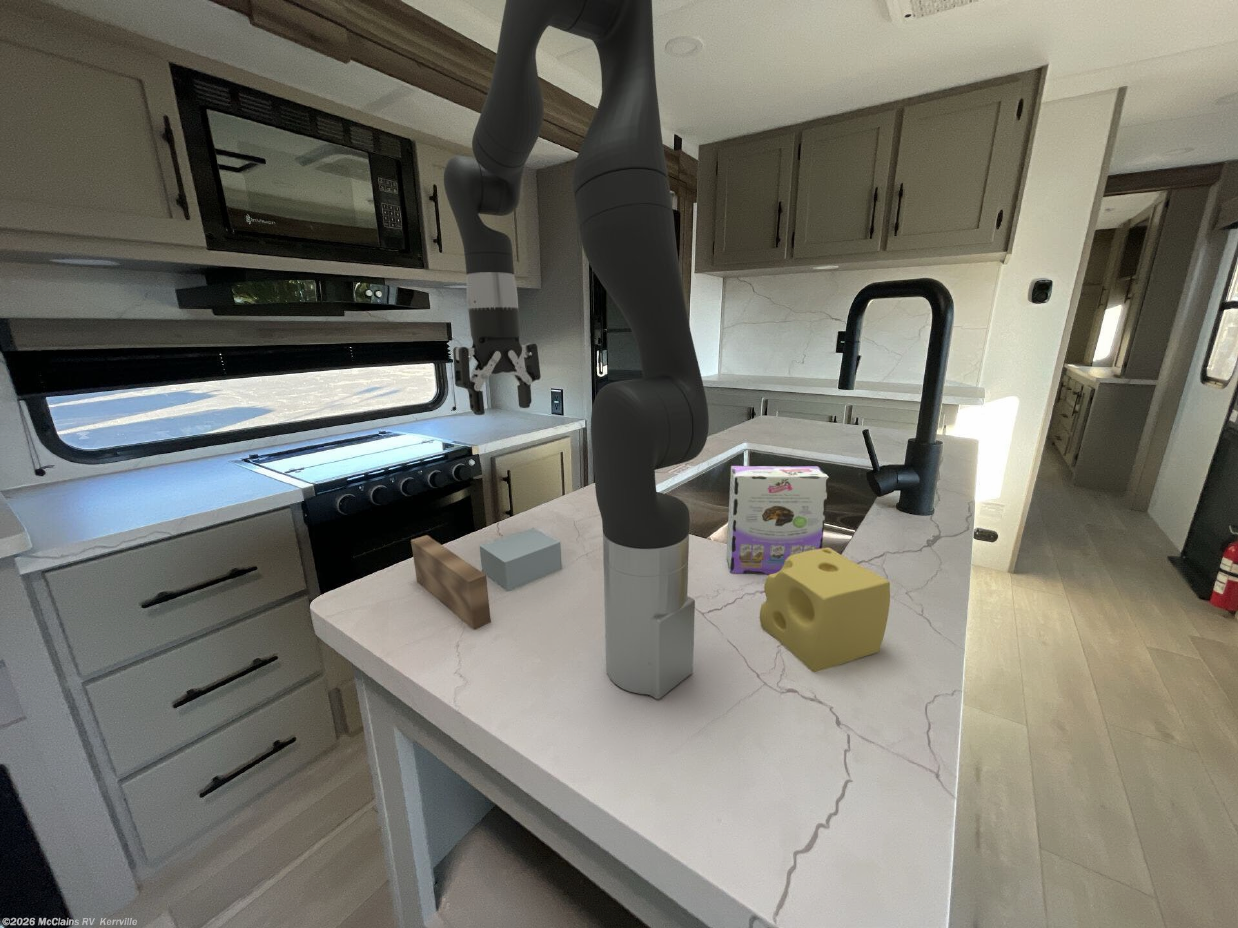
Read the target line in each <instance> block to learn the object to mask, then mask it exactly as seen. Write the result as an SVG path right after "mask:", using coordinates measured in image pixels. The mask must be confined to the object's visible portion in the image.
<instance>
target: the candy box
mask: <svg viewBox="0 0 1238 928" xmlns="http://www.w3.org/2000/svg"><path fill="white" fill-rule="evenodd" d="M829 480H830V476H828V474H826V473H825V472H824V471H823V470H822V469H821V468H820V467H819V466H816V465H815V466H811V465H810V466H808V465H807V466H796V465H795V466H792V465H791V466H785V465H784V466H776V465H773V466H772V465H771V466H769V465H767V466H766V465H763V466H762V465H760V466H759V465H757V466H755V465H753V466H752V465H731V466H730V480H729V481H730V482H729V484H730V485H729V501H728V502H729V503H728V504H729V505H728V521H727V537H726V538H727V539H726V540H727V543H726V561H727V565H728V570H729V573H731V574H742V575H743V574H748V575H749V574H751V575H770V574H774V573H777V572H779V571H780V570H781V569H782V568H783V566H784V563H785V561H786V559H787V558H788V557H789V556H791V555H794V554H798V553H802V552H805V551H810V550H817V549H822V548H823V541H824V540H823V539H824V529H825V520H826V508H827V497H828V490H829V489H828V487H829V482H830V481H829Z"/></svg>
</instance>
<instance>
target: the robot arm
mask: <svg viewBox="0 0 1238 928" xmlns="http://www.w3.org/2000/svg"><path fill="white" fill-rule="evenodd" d="M653 18H654V17H653V0H505V4H504V9H503V15H502V21H501V26H500V33H499V38H498V44H497V49H496V50H497V51H496V57H495V63H494V69H493V72H492V76H491V81H490V85H489V89H488V93H487V95H486V99H485V101H484V103H483V106H482V109H481V112H480V115H479V118H478V121H477V123H476V126H475V128H474V132H473V135H472V139H471V140H472V141H471V148H472V153H473V156H474V157H470V156H464V155H455V156H453V157H452V158H450V159H449V160H448V162H447V163H446V166H445V167H444V172H443V186H444V192H445V194H446V197H447V201H448V203H449V205H450V209H451V211H452V214H453V216H454V220H455V222H456V224H457V225H456V226H457V229H458V231H459V235H460V238H461V241H462V247H463V253H464V261H465V271H466V298H467V299H466V302H467V303H466V304H467V309H468V310H467V311H468V319H469V329H470V336H471V339H472V346H471V347H466V346H454V347H453V350H452V353H453V354H452V356H453V370H454V371H453V372H454V373H453V374H454V385H455V387H457V388H461V389H465V390H467V392H468V399H469V400H468V401H469V409H470V411H471V412H473V414H474V415H477V416H482V415H483V416H484V415H485V413H486V412H485V403H484V391H483V390H482V387H483V386H484V384H485V382H486V381H487V380H488V379H489V378H490V376H491V375H492V374H493V375H497V374H498V375H499V374H501V373H505V374H506V373H507V374H510V375H511V376H512V377H513V378H514V379H515V380H516V382H517V383H518V385H517V397H518V406H519V408H520V409H528V408H530V407H531V404H532V390H531V387H532V386H531V385H532V383H534V382H535V381H539V380H541V367H540V360H539V353H538V350H539V349H538V345H537V344H536V343H531V342H530V343H529V342H528V343H523V344H521V341H520V335H521V326H520V325H521V324H520V313H519V311H520V310H519V298H518V288H517V283H516V279H515V269H514V257H513V256H514V254H513V244H512V241H511V240H512V239H511V238H510V236H509V235H508V234H506V233H504V232H502V231H499V230H496V229H493V228H491V227H488V226H487V225H486V224H485V223H484V222H483V220H482V218H481V217H480V215H488V216H494V217H495V216H496V217H497V216H498V217H506V216H508V215H510V214H512V213H513V212H514V211H515V210H516V209H517V208H518V206H519V203H520V199H521V186H522V178H523V173H524V168H525V164H526V162H527V160H528V159H529V156H530V155H531V153H532V151H533V149H534V147H535V145H536V143H537V142H538V139H539V137H540V134H541V132H542V131H541V130H542V127H543V124H544V115H545V113H544V99H543V94H542V89H541V88H542V87H541V82H540V78H539V74H538V73H539V72H538V67H537V58H536V57H537V56H536V55H537V48H538V45H539V43H540V40H541V38H542V36H543V34H544V33H545V31H546V30H547V29H548V27H552V28H554V29H557V30H560V31H562V32H565V33H568V34H571V35H575V36H578V37H581V38H584V39H588V40H591V41H592V42H593V43H594V46H595V48H596V49H597V53H598V57H599V64H600V65H599V66H600V72H601V76H600V77H601V96H600V99H599V103H598V107H597V108H596V111H595V114H594V116H593V118H592V121H591V123H590V125H589V126H588V129H587V132H586V134H585V136H584V138H583V141H582V142H581V146H580V148H579V151H578V153H577V155H576V160H575V164H574V167H573V172H572V173H573V174H572V189H573V190H572V191H573V197H574V204H575V210H576V215H577V217H576V218H577V222H578V223H577V224H578V229H579V235H580V236H579V237H580V242H581V246H582V248H583V249H582V250H583V252H584V254H585V257H586V259H587V262H588V264H589V266H590V267H591V268H592V270H593V272H594V274H595V275H596V277H597V278H598V279H597V280H599V281H600V283H601V285H602V286H603V288H604V289H605V291H606V292H607V294H608V295H609V296H610V298H611V299H612V300H613V302H614V304H615V305H616V306H617V308H618V309H619V311H620V312H621V314H622V315H623V317H624V319H625V321H626V322H627V324H628V327H629V329H630V330H631V332H632V335H633V337H634V340H635V344H636V347H637V352H638V356H639V361H640V366H641V367H640V368H641V371H642V372H641V373H642V378H636V379H634V378H633V379H627V380H626V379H625V380H619V381H614V382H610V383H608V384H606V385H604V386H603V387H602V388H601V389H599V391H598V392H597V394H596V396H595V397H594V400H593V405H592V409H591V414H590V440H591V449H592V450H591V451H592V461H593V474H594V485H595V486H594V489H595V496H596V502H597V503H596V504H597V507H598V510H599V513H600V517H601V523H602V551H603V553H602V555H603V557H602V558H603V561H602V562H603V595H604V596H603V598H604V599H603V600H604V633H605V634H604V639H605V667H606V673H607V675H608V677H609V679H610V680H611V681H612V682H613V683H614V684H615V685H616V686H617V687H619V688H621V689H623V690H625V691H627V692H629V693H630V692H631V693H634V694H641V695H649V696H651V697H653V698H654V699H656V700H660V699H661V698H662V697H664V696H665V695H666V694H667V693H668V692H670V691H671V690H672V689H674V688H675V687H676V686H678V685H679V684H680V683H681V682H682V681H684V680H685V679H686V678H688V677H690V676H691V674H693V672H694V650H695V649H694V646H695V645H694V642H695V641H694V640H695V618H696V617H695V613H696V610H695V609H696V608H695V607H696V602H695V599H694V598H692V597H691V596H688V591H689V590H688V588H689V585H688V583H689V553H690V551H689V549H690V524H691V523H690V522H691V521H690V520H691V519H690V511H689V508H688V505H687V504H686V503H685V502H684V501H683V500H681V499H680V498H677V497H676V496H674V495H671V494H667V493H663V492H658V491H657V482H656V471H657V470H660V469H664V468H668V467H672V466H677V465H681V464H684V463H687V462H690V461H692V460H694V459H695V458H697V457H698V456H699V455H700V454H701V452H703V450H704V447H705V445H706V444H707V443H706V442H707V440H708V436H709V428H710V427H709V426H710V425H709V424H710V421H709V420H710V419H709V408H708V402H707V395H706V391H705V387H704V386H705V385H704V382H703V379H702V374H701V369H700V365H699V360H698V358H697V357H698V356H697V353H696V348H695V344H694V341H693V337H692V331H691V327H690V322H689V317H688V311H687V310H688V309H687V306H686V299H685V294H684V293H685V292H684V286H683V281H682V275H681V267H680V261H679V255H678V249H677V239H676V230H675V229H676V228H675V217H674V209H673V202H672V201H673V200H672V195H671V188H670V187H671V186H670V182H669V181H670V180H669V175H668V169H667V163H666V157H665V150H664V143H663V136H662V126H661V125H662V124H661V118H660V107H659V98H658V89H657V80H656V66H655V65H656V64H655V44H654V42H655V40H654V22H653V21H654V20H653ZM521 356H522V357H523V359H524V365H523V363H522V362H521V360H520V357H521ZM472 357H473V358H474V360H475V361H476V363H475V365H474V366H473V368H472V371H471V370H470V362H471V361H472V359H473V358H472Z"/></svg>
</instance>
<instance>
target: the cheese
mask: <svg viewBox="0 0 1238 928" xmlns="http://www.w3.org/2000/svg"><path fill="white" fill-rule="evenodd" d="M890 583H891V582H890V581H889V580H888V579H886V578H884V577H883V576H881V575H879V574H877V573H876V572H873V571H872V570H871V569H868V568H867V567H863V566H861V565H860V564H858V563H856V562H854V561H852V560H851V559H849V558H847V557H846V556H844V555H842V554H840V553H838V551H836V550H834V549H832V548H831V547H822V549H817V550H810V551H805V552H802V553H798V554H794V555H791V556H789V557H788V558H787V559H786V561H785V563H784V566H783V568H782V569H781V570H780V571H779V572H777V573H774V574H767V577H766V578H765V581H764V587H763V588H764V590H763V592H764V594H765V597H766V601H764V602H762V604H761V606H760V610H759V622H760V627H761V628H762V629H763V630H764V631H766V632H767V633H768V634H769V635H771V636H773V637H774V638H775V639H776V640H777V641H778V642H780V643H781V644H782V645H783V646H784V647H785V648H786V649H787V650H788V651H789V652H791V653H792V654H793V655H794V656H795V657H796V658H797V659H798V660H799V661H800V662H801V663H802V664H803V665H804V666H805V667H807V668H808V669H809V670H810V671H811V672H812V673H818V672H821V671H823V670H828V669H830V668H834V667H836V666H837V667H838V666H840V665H843V664H846V663H849V662H851V661H855V660H857V659H860V658H863V657H866V656H870V655H874V654H878V653H879V652H880V649H881V646H882V642H883V639H884V637H885V634H886V633H885V632H886V628H887V625H888V624H887V622H888V617H889V611H890V605H891V587H890Z"/></svg>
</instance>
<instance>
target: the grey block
mask: <svg viewBox="0 0 1238 928" xmlns="http://www.w3.org/2000/svg"><path fill="white" fill-rule="evenodd" d="M561 547H562V546H561V541H559V540H557V539H555V538H554V537H552V536H550V535H547V534H546V533H544V532H542V531H541V530H538V529H536V527H535V528H534V527H531V528H528V529H525V530H523V531H519V532H516V533H513V534H510V535H506V536H504V537H501V538H497V539H494V540H492V541H489V542H485V543H483V544H481V545H479V554H480V562H481V563H480V564H481V572H482V573H484V574H485V575H486V577H488V578H489V579H490V580H492V581H493V582H495V583H496V584H497V585H499V586H500V587H501V588H502V589H504V590H505V591H507V592H509V591H511V590H513V589H516V588H519V587H521V586H524V585H526V584H528V583H532V582H534V581H536V580H538V579H542V578H543V577H546V576H547V575H550V574H552V573H555V572H558V571H560V570H562V569H563V565H562V563H563V562H562V548H561Z"/></svg>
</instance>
